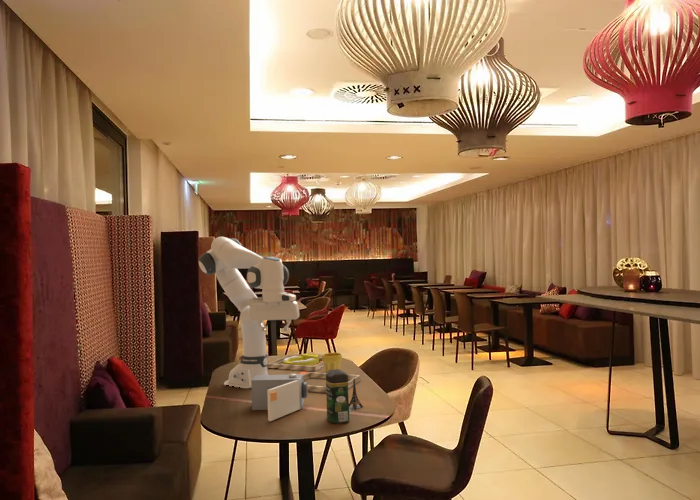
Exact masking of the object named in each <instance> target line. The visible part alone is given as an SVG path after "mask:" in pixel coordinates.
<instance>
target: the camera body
mask: <svg viewBox="0 0 700 500" xmlns="http://www.w3.org/2000/svg"><path fill="white" fill-rule="evenodd" d="M303 375H304V374H301V373H299V374H298V373H289V374H268V375H256V376H255V377H254V378H253V379H252V388H251V409H252V411H268V395H267V390H269V389H272V388H275V387H278V386H280V385H283V384H286V383H289V382H292V381H295V380H297V378H300V383H301V409H300V410H302V409H303V406H304V405H305V399H307V398H308V387H307V385H308V382H307V381H303Z"/></svg>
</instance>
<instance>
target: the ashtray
mask: <svg viewBox="0 0 700 500" xmlns="http://www.w3.org/2000/svg"><path fill="white" fill-rule="evenodd" d="M293 356H294V357H288V358H285V359H284V360H283V363H282V364H285V365H303V366H314V365H316V364H317V363H320V362H319V354H315V353H301V354H300V355H293ZM299 356H300V357H299Z"/></svg>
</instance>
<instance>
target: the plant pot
mask: <svg viewBox="0 0 700 500" xmlns="http://www.w3.org/2000/svg"><path fill="white" fill-rule="evenodd" d="M321 357H322V361H323V362H324V369H325V373H327V372H328V371H329V370H335V369H340V368H341V362H342V361H343V354H342V353H340V352H327V353H322V355H321ZM340 370H341V369H340Z"/></svg>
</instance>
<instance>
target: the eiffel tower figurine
mask: <svg viewBox="0 0 700 500" xmlns="http://www.w3.org/2000/svg"><path fill="white" fill-rule="evenodd" d="M353 380H354V383H353V386H352V395H351V399H350V400H349V414H350V413H352V414H353V413H355V411H358V410H361V409H364V405H362V403H361V402H360V400H359V398H358V395H357V390H356V389H357V388H356V384H355V379H353ZM361 413H365V411H359V414H361Z"/></svg>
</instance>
